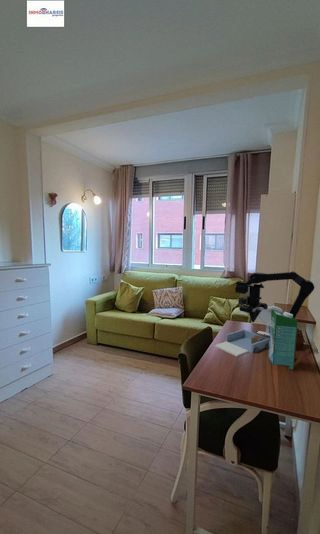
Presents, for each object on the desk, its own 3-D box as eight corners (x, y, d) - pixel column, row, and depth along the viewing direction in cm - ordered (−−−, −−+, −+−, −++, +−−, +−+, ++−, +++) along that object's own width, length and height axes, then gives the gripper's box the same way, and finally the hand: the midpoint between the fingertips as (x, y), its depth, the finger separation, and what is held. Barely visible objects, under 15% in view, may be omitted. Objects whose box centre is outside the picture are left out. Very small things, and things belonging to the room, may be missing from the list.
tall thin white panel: (248, 350, 126) (237, 355, 120) (248, 352, 126) (237, 357, 120) (226, 341, 137) (215, 345, 132) (226, 343, 137) (215, 347, 132)
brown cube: (262, 345, 134) (263, 337, 134) (259, 348, 131) (259, 339, 131) (254, 343, 137) (255, 335, 137) (250, 345, 134) (251, 337, 134)
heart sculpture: (253, 332, 159) (255, 305, 157) (254, 330, 163) (256, 303, 161) (280, 337, 151) (282, 308, 149) (281, 335, 155) (283, 306, 154)
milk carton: (293, 369, 112) (298, 315, 110) (272, 367, 114) (276, 313, 112) (287, 360, 121) (291, 310, 119) (268, 358, 123) (271, 308, 120)
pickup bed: (271, 349, 134) (272, 339, 133) (253, 356, 124) (254, 345, 124) (241, 337, 149) (242, 328, 149) (223, 343, 140) (224, 334, 139)
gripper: (251, 291, 152) (250, 316, 153) (232, 294, 141) (230, 320, 142) (268, 294, 143) (267, 320, 144) (249, 297, 132) (247, 326, 133)
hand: (252, 322), depth 141 cm, fingers closed
